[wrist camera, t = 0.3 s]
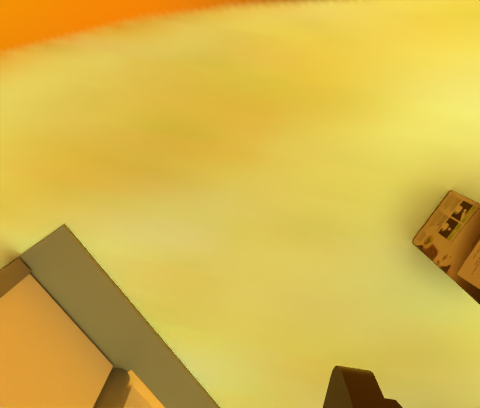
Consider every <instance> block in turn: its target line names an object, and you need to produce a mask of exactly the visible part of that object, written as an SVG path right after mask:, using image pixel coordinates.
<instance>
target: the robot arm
mask: <svg viewBox="0 0 480 408" xmlns="http://www.w3.org/2000/svg"><path fill="white" fill-rule="evenodd" d="M323 408H402V406H401V405H400V404H399V403H398V402H397V401H396V400H392V399H386V398H384V397H383V394H382V392H381V390H380V388H379V385H378V383H377V381H376V379H375V376H374V374H373V373H372V372H371V371H369V370H362V369H355V368H349V367H342V366H335V367H334V369H333V371H332V374H331V378H330V382H329V386H328V390H327V393H326V397H325V401H324V405H323Z"/></svg>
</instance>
